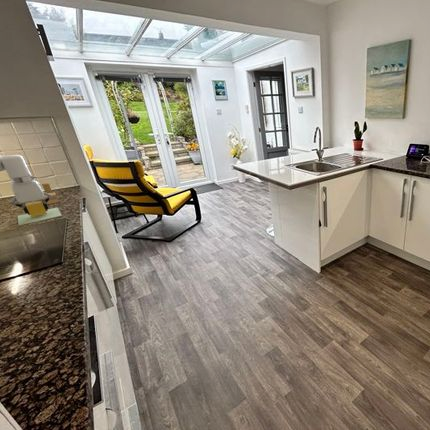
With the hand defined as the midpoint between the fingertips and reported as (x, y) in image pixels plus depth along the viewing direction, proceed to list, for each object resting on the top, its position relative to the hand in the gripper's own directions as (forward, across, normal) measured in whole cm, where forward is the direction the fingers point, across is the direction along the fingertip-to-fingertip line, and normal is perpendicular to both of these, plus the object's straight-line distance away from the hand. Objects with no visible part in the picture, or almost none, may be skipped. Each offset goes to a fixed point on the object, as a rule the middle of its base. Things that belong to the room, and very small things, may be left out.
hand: (38, 212), depth 140 cm
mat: (+2, 0, 0) cm, 2 cm away
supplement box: (+2, -7, -43) cm, 43 cm away
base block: (+2, -6, -28) cm, 29 cm away
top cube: (+1, 0, 0) cm, 1 cm away
